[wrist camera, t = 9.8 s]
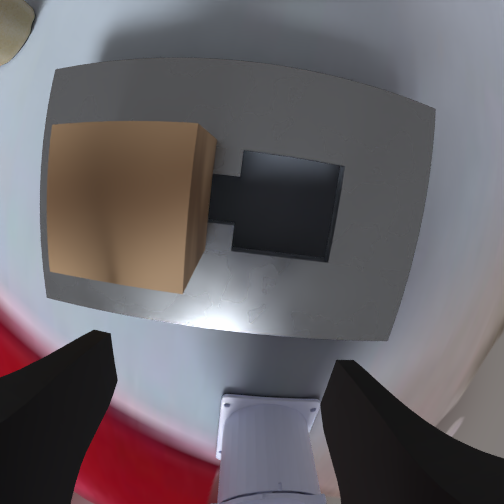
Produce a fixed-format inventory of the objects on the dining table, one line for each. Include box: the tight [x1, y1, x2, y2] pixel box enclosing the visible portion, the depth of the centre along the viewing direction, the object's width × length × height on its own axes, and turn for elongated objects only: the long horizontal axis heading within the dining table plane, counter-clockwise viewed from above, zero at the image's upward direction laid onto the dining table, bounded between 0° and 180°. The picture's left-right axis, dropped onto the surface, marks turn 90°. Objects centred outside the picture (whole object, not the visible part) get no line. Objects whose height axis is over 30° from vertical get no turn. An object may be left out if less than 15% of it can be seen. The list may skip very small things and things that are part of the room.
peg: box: [47, 121, 217, 294], centre depth 12 cm, size 5×5×7 cm
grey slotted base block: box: [40, 58, 436, 341], centre depth 15 cm, size 13×20×4 cm, turn 83°
